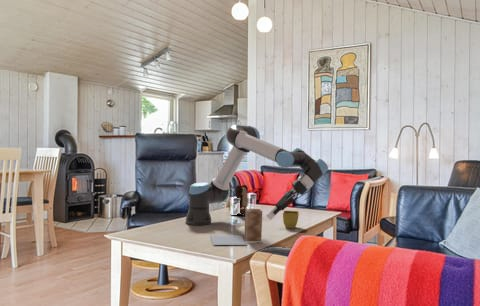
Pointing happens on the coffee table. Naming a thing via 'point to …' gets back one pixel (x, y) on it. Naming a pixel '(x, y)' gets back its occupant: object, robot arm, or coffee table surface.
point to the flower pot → (290, 218)
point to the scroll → (243, 192)
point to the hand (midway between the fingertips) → (268, 217)
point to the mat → (228, 240)
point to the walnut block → (253, 225)
